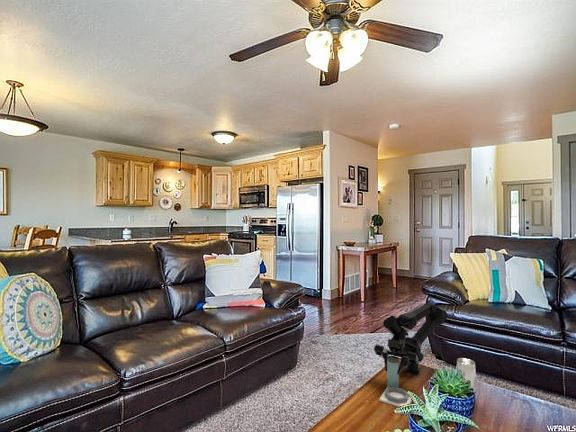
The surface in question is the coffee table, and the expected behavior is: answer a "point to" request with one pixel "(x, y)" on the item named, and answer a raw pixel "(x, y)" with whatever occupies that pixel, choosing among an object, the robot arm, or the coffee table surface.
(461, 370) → the beer glass
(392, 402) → the mount plate
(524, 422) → the coffee table surface
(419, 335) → the robot arm
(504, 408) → the coffee table surface
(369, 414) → the coffee table surface
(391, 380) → the teal cylinder
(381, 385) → the coffee table surface
